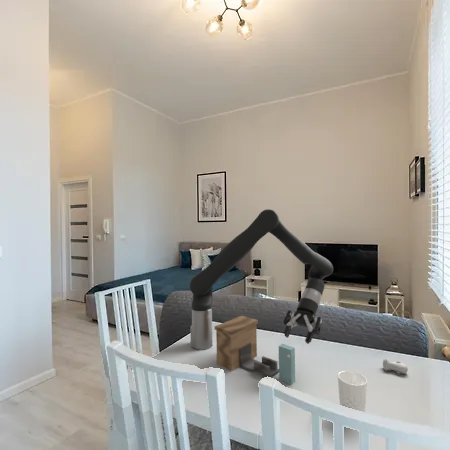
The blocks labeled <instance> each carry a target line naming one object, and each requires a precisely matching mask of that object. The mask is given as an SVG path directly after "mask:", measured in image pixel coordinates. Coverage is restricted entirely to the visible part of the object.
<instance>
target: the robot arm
mask: <svg viewBox="0 0 450 450" xmlns="http://www.w3.org/2000/svg"><path fill="white" fill-rule="evenodd" d="M268 233H270V234H272V235H273V236H274V237H275V238H277V240H278V241H280V242H281V243H282V245H283V246H285V248H287V250H288V251H290V253H291V254H292V255H293V256H294V257H295V258H296V259H298V260H299V261H300V262H301V263H302V264H304V265H311V267H310V269H309V270H308V276H307V283H306V285H305V288H304V290H303V292H302V294H301V297H300V299H299V301H298V303H297V304H298V305H297V308H296V311H295V312H292V311H291V309H289V310H288V311H287V313H286V315H285V316H284V319H283V321H282V323H283V324H284V326H285V328H284V329H285V330H284V332H283V334H284V336H285V337H286V338H289V336H290V334H291V331H292V329H293V328H294V327H297V326H301V327H304V328H307V329H308V332H307V334H306V337H305V340H304V341H305V344H307V345H309V344H310V343H311V342H312V339H313V337H314V335H320V333H321V328H322V325H323V320H322V318H321V317H320V316H317V313H318V310H319V307H320V305H321V301H322V296H323V293H324V291H325V282H324V281H323V279H325V278H327V277H329V276H331V275H332V274H333V273H334V266H333V264H332V262H331V261H330V260H329V259H327V258H326V257H324V256H323V255H321V254H319V253H318V252H315V251H314V250H313V249H311V247H309V246H308V245H307V244H306V243H305V242H304V241H303V240H302V239H300V238H299V237H298V236H297V235H295V234H294V233H293V232H292V231H290V230H289V229H288V228H287V227H286V226H285V225H284V224H283V223H282V221H281V220H280V217H279V214H278V213H277V212H276V211H275V210H274V209H269V208H268V209H264V210H262V211H260V213H259V214H258V215H257V217H256V218H255V219H254V220H253V221H252V222H251V224H249V226H248V227H247V228H246V229H245V230H244V231H242V232H241V233H240V234H238V235H237V236H236V237H234V238H233V239H232V240H230V242H228V243H227V244H226V246H224V247H223V249H222V250H220V252H219V253H218V254H217V255H216V256H215V257H214V259H213V260H212V261H211V262H210V264H208V265H207V267H205V268H204V269H203V270H202V271H200V272H198V273H197V274H195V275H194V276H193V277H192V278H191V280H190V282H189V290H190V292H191V293H192V301H191V325H190V328H189V330H190V331H189V332H190V347H191V348H193V349H195V350H198V351H199V350H201V351H203V350H208V349H210V348H212V347H213V342H214V341H213V307H212V306H213V286H214V284H216V282H217V281H218V280H219V279H221V277H222V276H224V275H225V274H226V273H228V272H229V271H230V270H231V269H233V268H234V267H235V266H236V265H237V264H239V263H240V262H241V261H242V260H243V259H244V258H245V257H246V256H247V255H248V254H249V252H250V251H252V249H253V248H254V247H255V245H256V244H257V243H258V242H259V241H260V240H261V239H262V238H263V237H264V236H266V235H267V234H268ZM313 323H315V326H314V328H313V326H312V324H313Z"/></svg>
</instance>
